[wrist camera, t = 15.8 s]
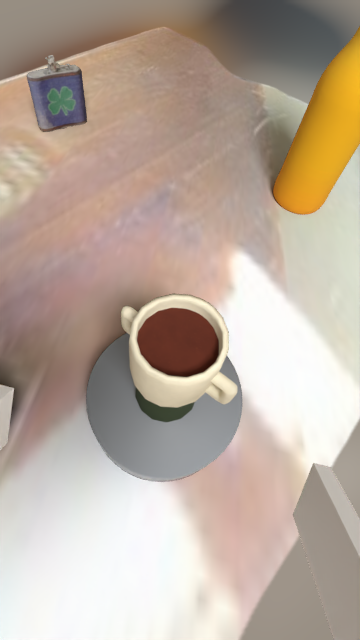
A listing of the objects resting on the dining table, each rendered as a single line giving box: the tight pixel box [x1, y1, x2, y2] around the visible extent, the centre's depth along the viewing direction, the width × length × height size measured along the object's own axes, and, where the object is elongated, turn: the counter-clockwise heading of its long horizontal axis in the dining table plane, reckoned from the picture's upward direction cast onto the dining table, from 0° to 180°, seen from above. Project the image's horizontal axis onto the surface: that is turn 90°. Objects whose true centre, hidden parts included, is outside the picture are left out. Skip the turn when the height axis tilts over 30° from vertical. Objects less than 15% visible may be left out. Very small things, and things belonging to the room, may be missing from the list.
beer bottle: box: [273, 27, 360, 214], centre depth 48 cm, size 9×9×29 cm
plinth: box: [86, 333, 242, 482], centre depth 37 cm, size 16×16×5 cm
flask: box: [27, 55, 87, 132], centre depth 59 cm, size 9×3×11 cm, turn 122°
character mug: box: [121, 294, 237, 422], centre depth 29 cm, size 11×7×13 cm, turn 53°
